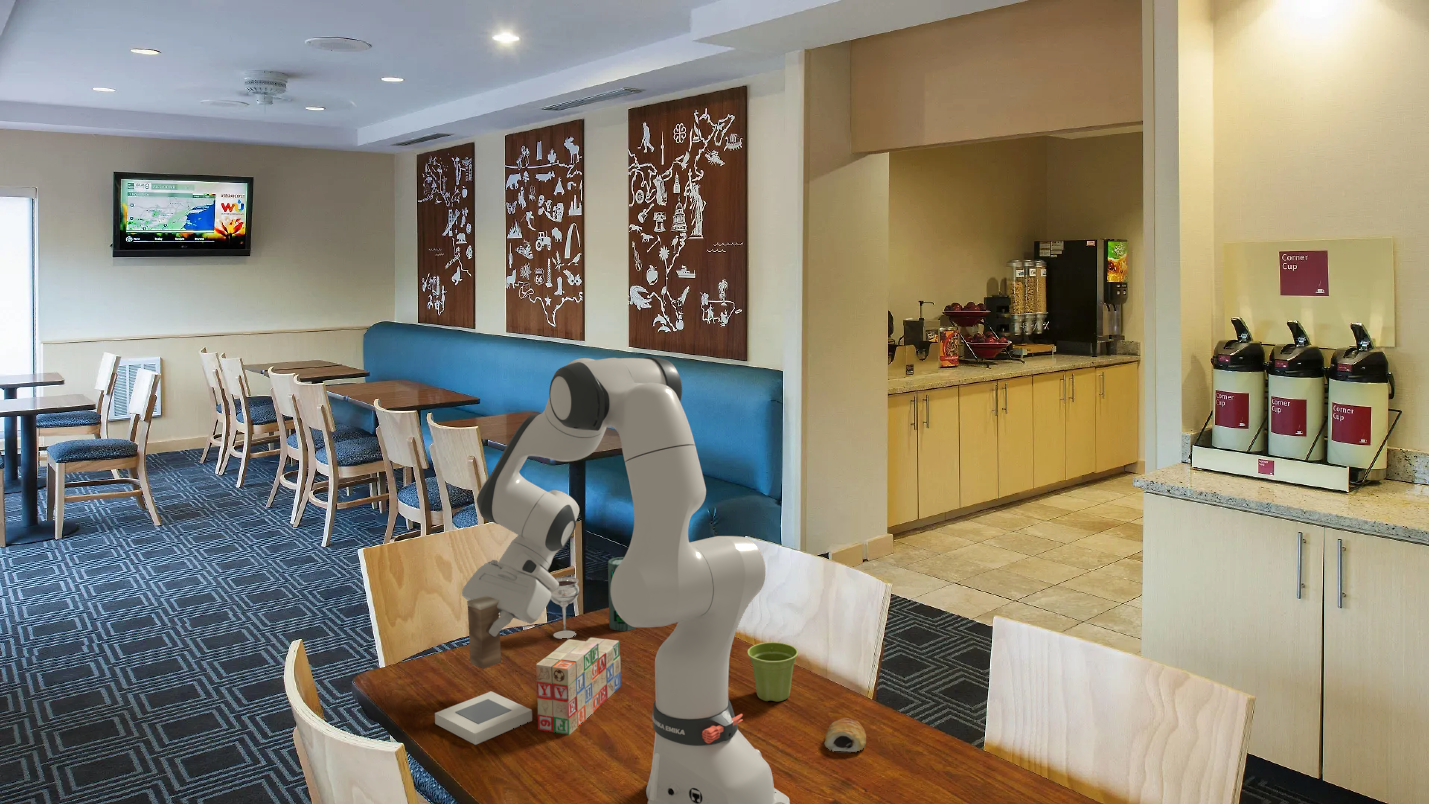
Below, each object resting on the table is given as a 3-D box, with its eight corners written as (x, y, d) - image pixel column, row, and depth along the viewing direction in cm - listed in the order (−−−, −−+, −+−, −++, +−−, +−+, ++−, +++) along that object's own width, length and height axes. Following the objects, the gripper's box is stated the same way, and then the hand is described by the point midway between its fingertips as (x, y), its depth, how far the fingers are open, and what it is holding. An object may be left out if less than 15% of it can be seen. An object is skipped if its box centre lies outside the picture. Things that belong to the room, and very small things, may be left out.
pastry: (830, 727, 176) (830, 706, 175) (869, 731, 174) (869, 710, 174) (823, 752, 167) (823, 730, 166) (864, 757, 165) (865, 735, 165)
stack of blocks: (592, 682, 195) (590, 621, 193) (621, 686, 193) (620, 625, 191) (537, 730, 175) (535, 663, 173) (569, 736, 173) (567, 667, 171)
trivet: (532, 720, 179) (531, 709, 178) (475, 744, 170) (474, 733, 169) (491, 701, 186) (491, 690, 186) (435, 723, 178) (434, 712, 177)
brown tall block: (501, 662, 188) (498, 600, 187) (483, 669, 185) (480, 605, 184) (488, 657, 191) (485, 595, 189) (470, 663, 188) (467, 601, 186)
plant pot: (769, 711, 182) (769, 665, 180) (737, 693, 189) (737, 649, 188) (808, 697, 187) (808, 653, 186) (776, 681, 195) (776, 638, 193)
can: (620, 632, 221) (618, 566, 219) (604, 625, 225) (603, 560, 223) (642, 626, 224) (641, 561, 222) (627, 619, 229) (625, 555, 227)
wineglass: (543, 637, 218) (541, 584, 216) (559, 627, 224) (558, 575, 223) (570, 642, 215) (568, 588, 214) (586, 631, 222) (584, 578, 220)
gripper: (479, 549, 198) (438, 610, 192) (545, 569, 184) (504, 635, 178) (499, 566, 202) (459, 626, 196) (565, 586, 188) (525, 652, 182)
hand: (481, 631), depth 187 cm, fingers closed on brown tall block, 4 cm apart
